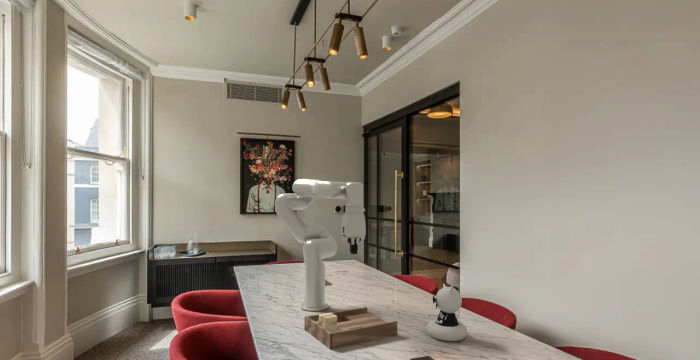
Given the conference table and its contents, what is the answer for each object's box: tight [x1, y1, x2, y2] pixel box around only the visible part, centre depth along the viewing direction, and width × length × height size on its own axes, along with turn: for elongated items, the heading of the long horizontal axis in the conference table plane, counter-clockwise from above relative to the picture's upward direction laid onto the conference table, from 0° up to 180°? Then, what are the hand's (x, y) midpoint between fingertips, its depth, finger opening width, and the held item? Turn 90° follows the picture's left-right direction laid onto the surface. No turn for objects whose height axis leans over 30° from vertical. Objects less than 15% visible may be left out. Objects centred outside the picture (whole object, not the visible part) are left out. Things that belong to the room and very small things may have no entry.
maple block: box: [319, 312, 337, 331], centre depth 141 cm, size 5×5×5 cm
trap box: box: [303, 306, 398, 350], centre depth 146 cm, size 22×28×5 cm
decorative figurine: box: [426, 283, 468, 342], centre depth 144 cm, size 15×15×20 cm
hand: (353, 253), depth 166 cm, fingers closed
